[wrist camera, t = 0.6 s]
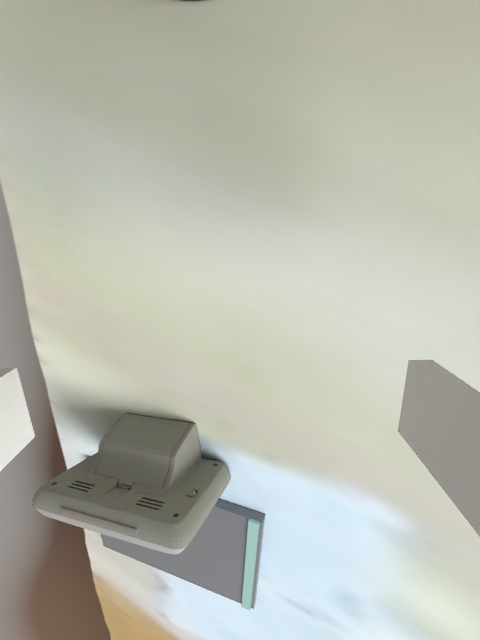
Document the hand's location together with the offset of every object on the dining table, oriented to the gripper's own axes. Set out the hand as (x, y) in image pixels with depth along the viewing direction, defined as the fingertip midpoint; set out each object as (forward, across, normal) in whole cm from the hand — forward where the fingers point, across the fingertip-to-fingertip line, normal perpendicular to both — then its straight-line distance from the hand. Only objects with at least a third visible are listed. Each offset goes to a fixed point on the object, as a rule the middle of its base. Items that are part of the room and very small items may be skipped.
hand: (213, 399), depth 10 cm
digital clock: (+20, -8, -18) cm, 28 cm away
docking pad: (+21, -9, -33) cm, 40 cm away
